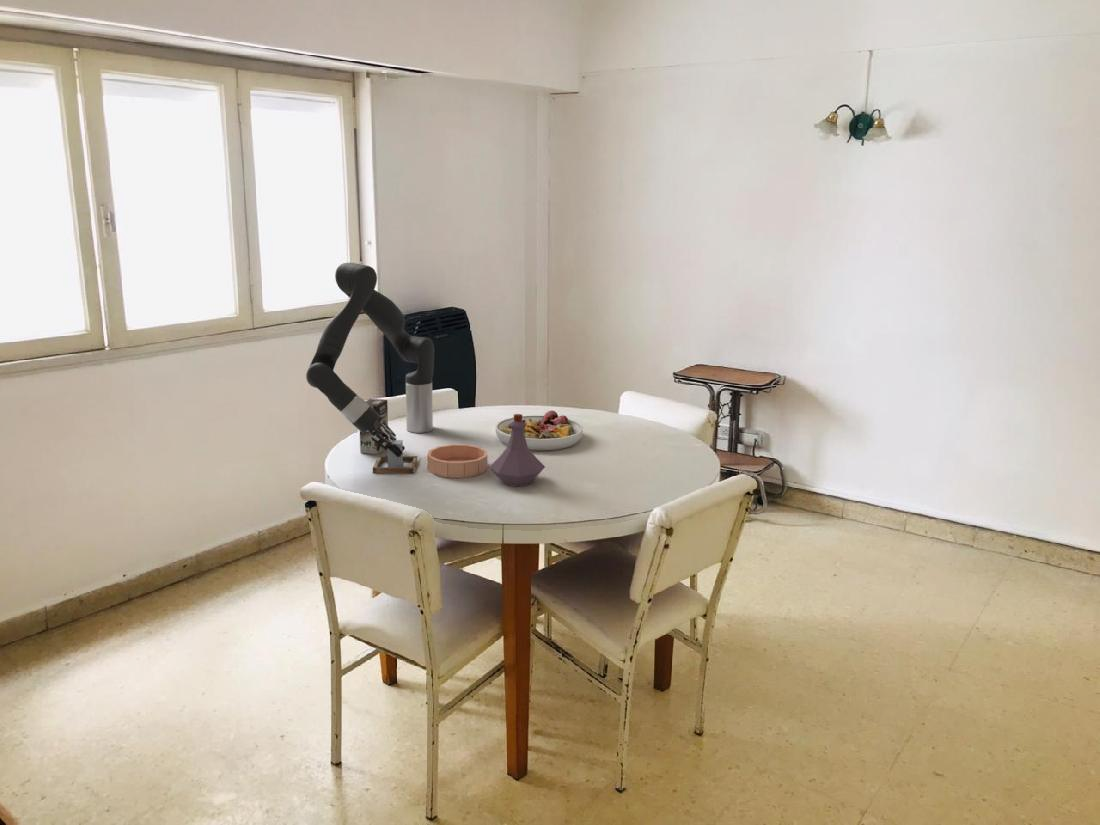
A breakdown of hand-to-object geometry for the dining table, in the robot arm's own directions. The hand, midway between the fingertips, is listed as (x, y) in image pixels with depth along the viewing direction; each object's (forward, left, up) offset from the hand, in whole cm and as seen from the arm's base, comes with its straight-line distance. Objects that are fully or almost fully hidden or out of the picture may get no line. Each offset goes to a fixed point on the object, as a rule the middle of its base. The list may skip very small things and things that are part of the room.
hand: (401, 452), depth 244 cm
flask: (+12, +35, -5) cm, 37 cm away
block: (0, -2, -5) cm, 5 cm away
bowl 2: (-30, +43, -5) cm, 53 cm away
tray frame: (0, -2, -5) cm, 5 cm away
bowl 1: (+1, +17, -5) cm, 18 cm away
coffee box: (-17, -11, -5) cm, 21 cm away
